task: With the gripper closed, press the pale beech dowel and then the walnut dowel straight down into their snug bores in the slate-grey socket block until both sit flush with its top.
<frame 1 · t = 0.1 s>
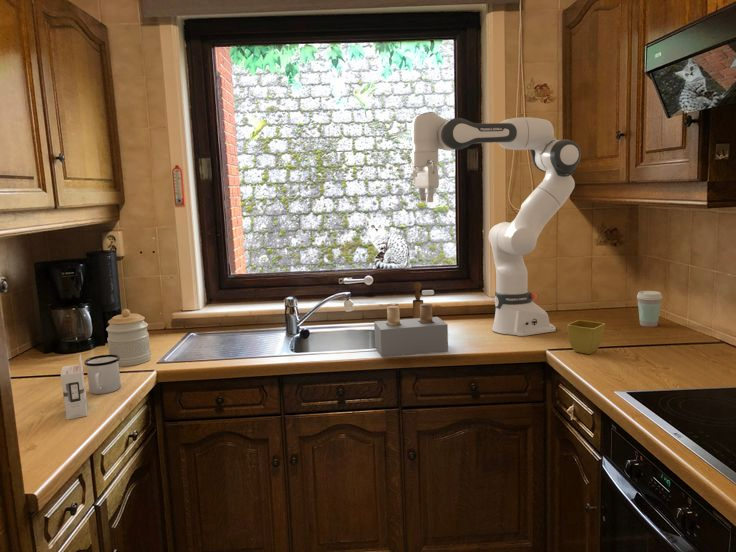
hand: (426, 201, 213), 48 cm above the worktop, fingers open, 8 cm apart
coffee cup: (648, 325, 224), on the worktop
walnut dowel: (426, 317, 204), point 10 cm above the worktop, slide at 0.0 cm
beech dowel: (393, 320, 202), point 10 cm above the worktop, slide at 0.0 cm
jar: (130, 361, 205), on the worktop
flower pot: (585, 352, 194), on the worktop
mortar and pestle: (418, 330, 232), on the worktop
mug: (104, 391, 175), on the worktop
socket block: (410, 349, 205), on the worktop
ink box: (77, 413, 159), on the worktop
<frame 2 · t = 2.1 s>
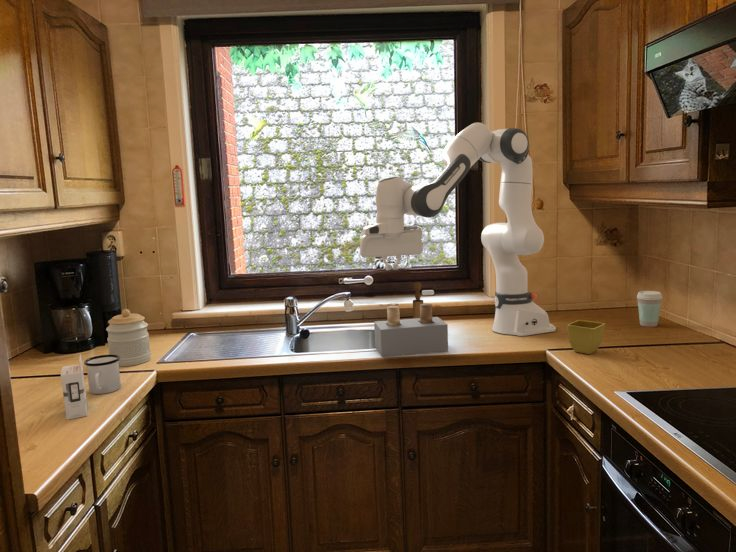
hand: (391, 269, 200), 27 cm above the worktop, fingers closed
nothing on the worktop moved.
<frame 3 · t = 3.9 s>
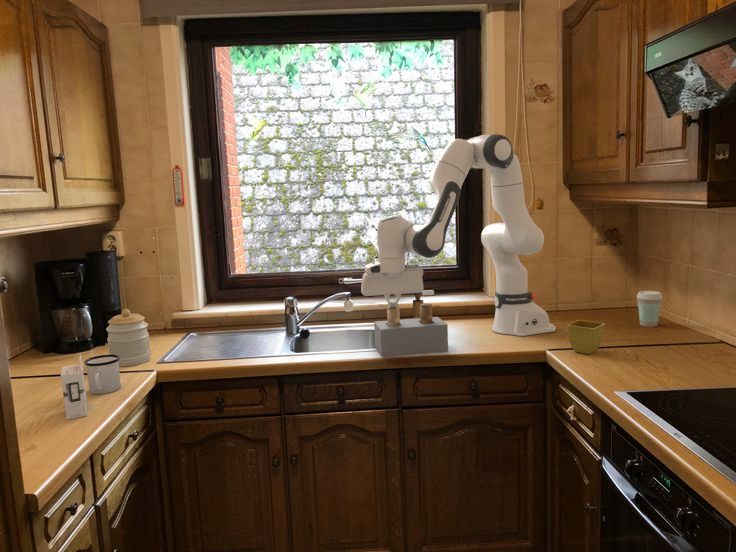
hand: (392, 307, 202), 15 cm above the worktop, fingers closed, pressing on beech dowel
beech dowel: (393, 320, 202), point 10 cm above the worktop, slide at 0.2 cm, touching gripper
everything else where it was.
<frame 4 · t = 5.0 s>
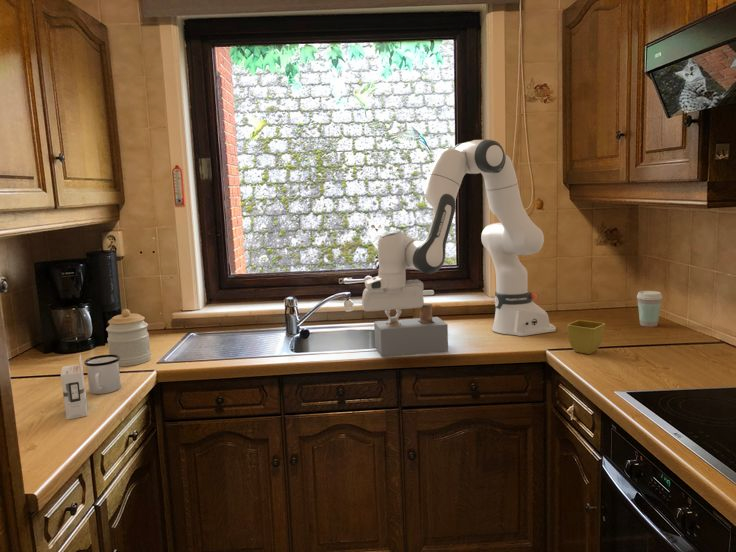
hand: (393, 322, 203), 10 cm above the worktop, fingers closed, pressing on beech dowel
beech dowel: (394, 335, 203), point 5 cm above the worktop, slide at 5.2 cm, touching gripper
everything else where it was.
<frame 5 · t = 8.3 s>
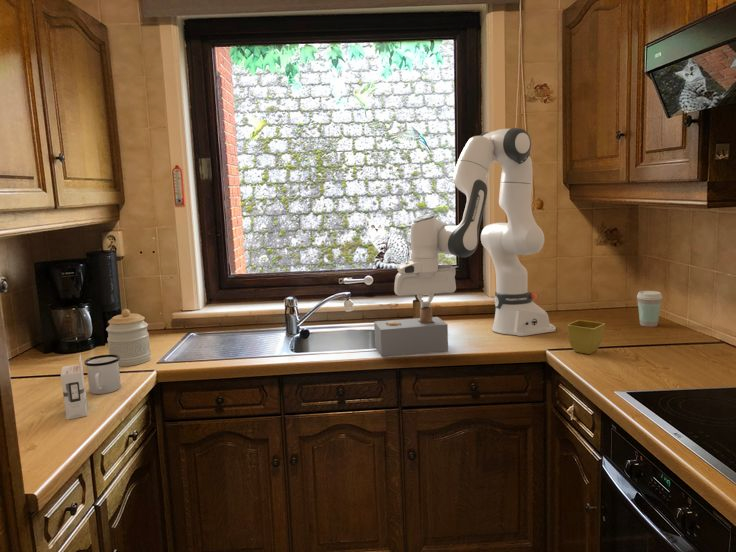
hand: (425, 307, 203), 14 cm above the worktop, fingers closed, pressing on walnut dowel
walnut dowel: (426, 320, 204), point 9 cm above the worktop, slide at 0.9 cm, touching gripper
beech dowel: (394, 335, 203), point 5 cm above the worktop, slide at 5.3 cm
everything else where it was.
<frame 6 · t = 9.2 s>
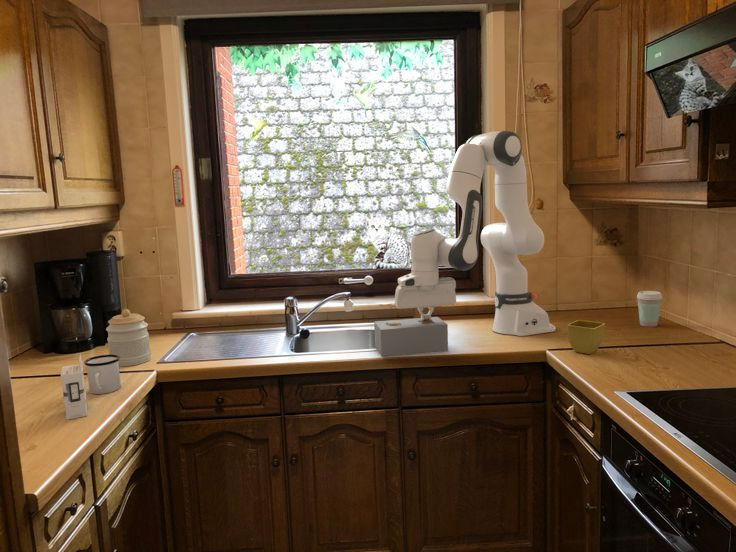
hand: (425, 319, 204), 10 cm above the worktop, fingers closed, pressing on walnut dowel
walnut dowel: (426, 332, 205), point 5 cm above the worktop, slide at 5.2 cm, touching gripper
everything else where it was.
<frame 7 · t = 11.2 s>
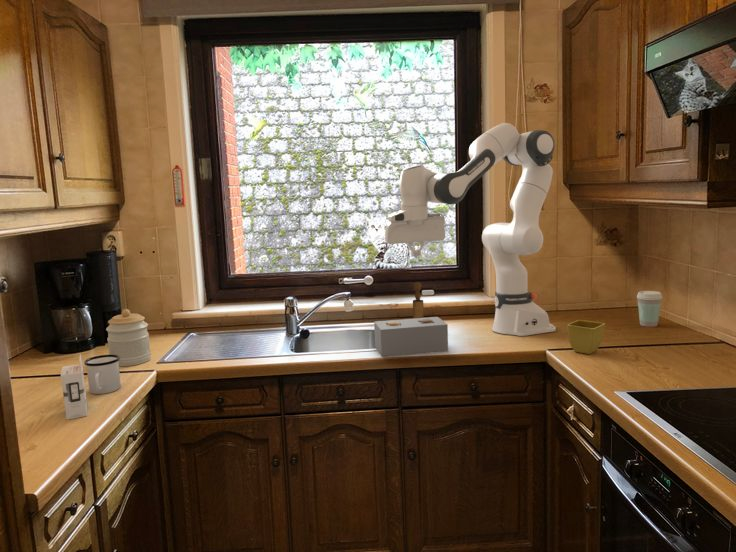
hand: (416, 255, 208), 30 cm above the worktop, fingers closed
walnut dowel: (426, 333, 205), point 5 cm above the worktop, slide at 5.3 cm
everything else where it was.
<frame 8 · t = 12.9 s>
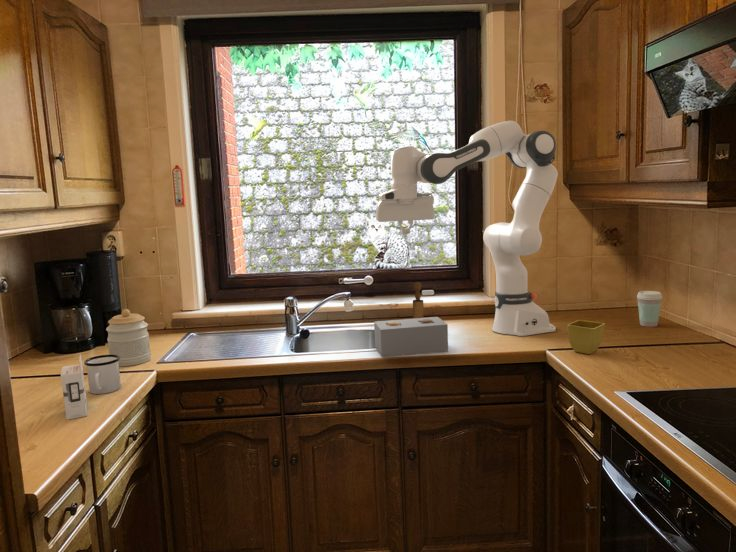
hand: (405, 233, 215), 37 cm above the worktop, fingers closed
nothing on the worktop moved.
at the end: beech dowel slide at 5.3 cm; walnut dowel slide at 5.3 cm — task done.
